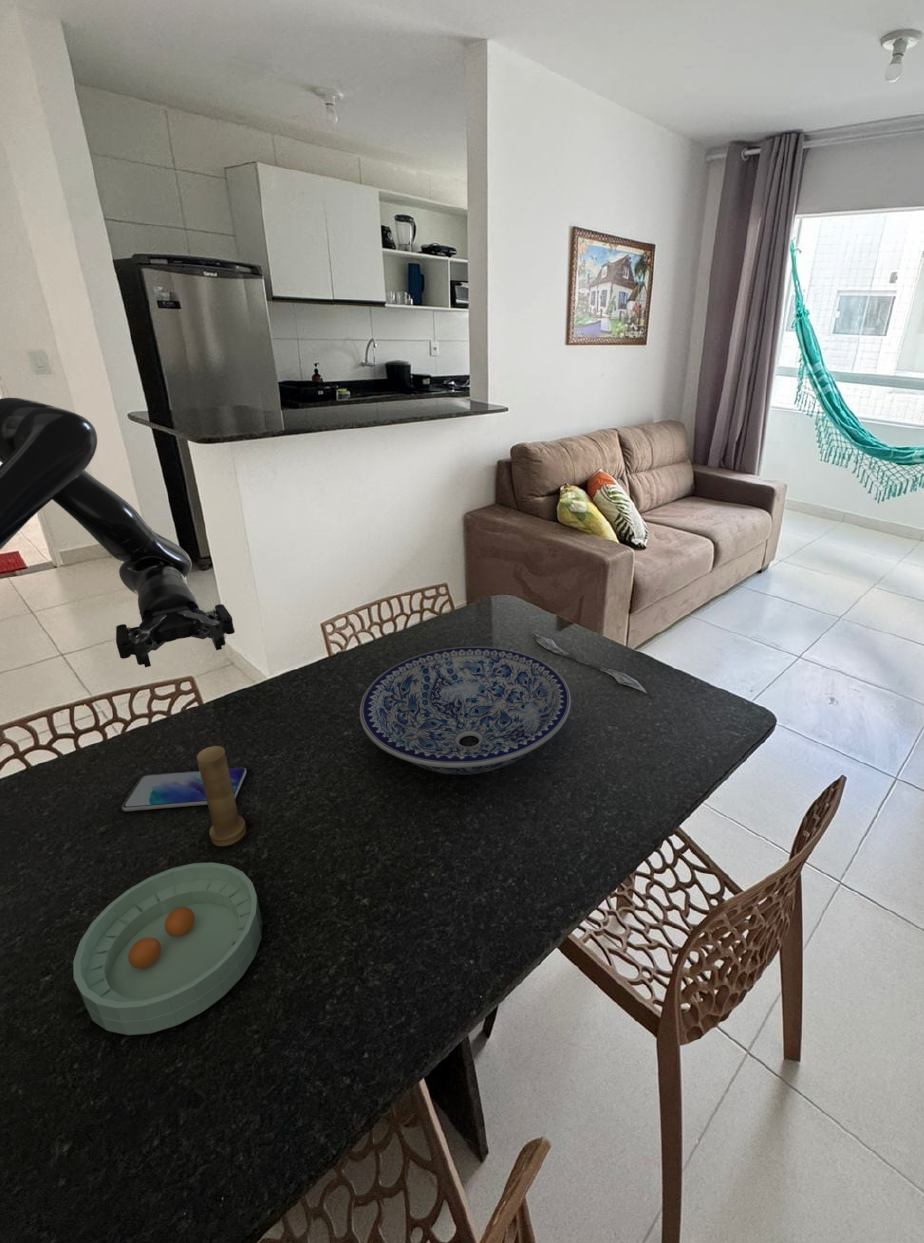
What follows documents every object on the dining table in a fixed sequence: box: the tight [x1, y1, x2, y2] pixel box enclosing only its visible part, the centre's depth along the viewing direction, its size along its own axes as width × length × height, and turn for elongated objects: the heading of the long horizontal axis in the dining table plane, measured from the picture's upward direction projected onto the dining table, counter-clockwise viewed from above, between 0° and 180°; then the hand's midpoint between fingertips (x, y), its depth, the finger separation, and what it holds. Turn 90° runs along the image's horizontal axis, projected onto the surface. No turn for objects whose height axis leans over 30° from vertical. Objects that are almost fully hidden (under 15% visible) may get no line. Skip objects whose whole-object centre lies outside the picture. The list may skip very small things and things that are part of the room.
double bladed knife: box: [533, 632, 647, 694], centre depth 133 cm, size 32×1×5 cm
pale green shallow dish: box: [72, 862, 263, 1036], centre depth 70 cm, size 17×17×5 cm
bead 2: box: [165, 907, 195, 936], centre depth 73 cm, size 3×3×3 cm
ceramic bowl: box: [359, 646, 572, 776], centre depth 106 cm, size 34×34×10 cm
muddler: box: [196, 745, 247, 847], centre depth 85 cm, size 4×4×14 cm
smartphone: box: [121, 767, 247, 812], centre depth 94 cm, size 7×1×15 cm
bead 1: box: [128, 937, 161, 969], centre depth 69 cm, size 3×3×3 cm
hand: (183, 652), depth 86 cm, fingers open, 8 cm apart
